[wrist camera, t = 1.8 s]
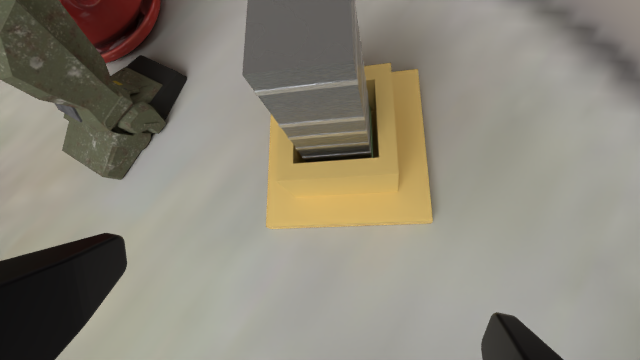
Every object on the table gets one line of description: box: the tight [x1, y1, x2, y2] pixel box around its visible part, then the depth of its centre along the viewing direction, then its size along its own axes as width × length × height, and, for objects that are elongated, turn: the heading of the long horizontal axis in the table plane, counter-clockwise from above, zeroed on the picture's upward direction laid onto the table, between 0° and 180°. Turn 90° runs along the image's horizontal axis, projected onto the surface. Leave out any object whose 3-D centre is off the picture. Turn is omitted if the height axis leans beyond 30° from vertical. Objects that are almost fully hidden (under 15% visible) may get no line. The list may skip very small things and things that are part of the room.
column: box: [243, 0, 374, 163], centre depth 18 cm, size 4×4×12 cm
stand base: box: [266, 63, 433, 229], centre depth 22 cm, size 11×11×5 cm
